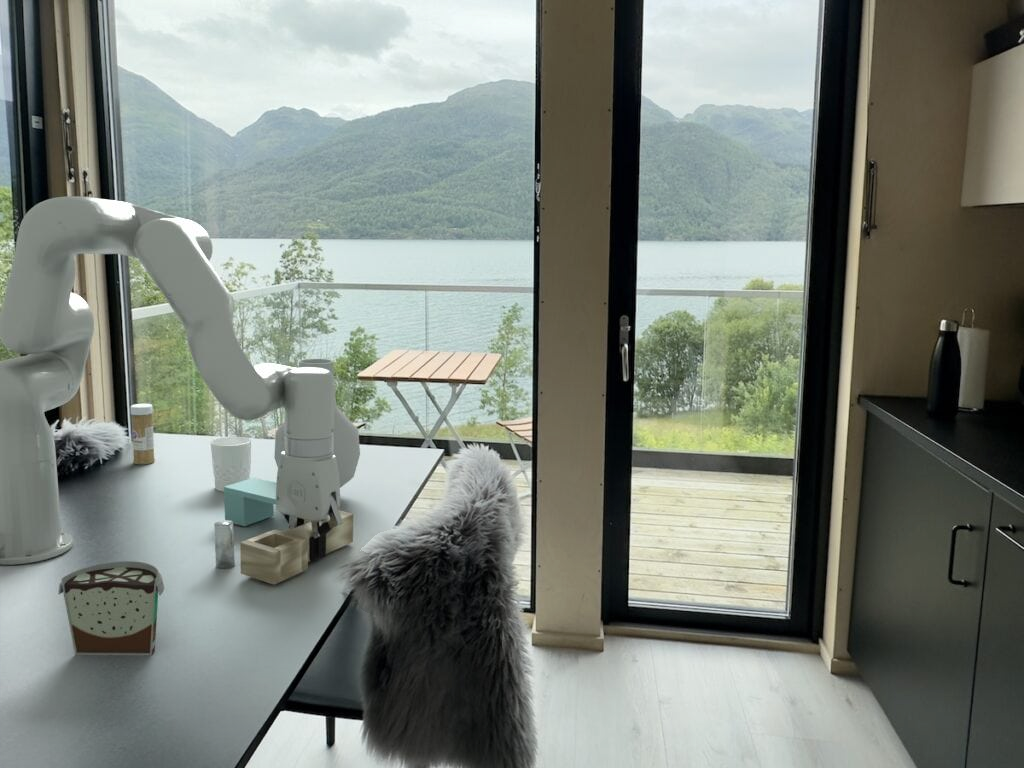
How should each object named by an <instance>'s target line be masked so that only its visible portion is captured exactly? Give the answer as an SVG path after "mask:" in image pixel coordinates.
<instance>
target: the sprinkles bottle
mask: <svg viewBox="0 0 1024 768" xmlns="http://www.w3.org/2000/svg"><path fill="white" fill-rule="evenodd" d="M153 413H154V411H153V404H151V403H137V404H136V403H134V404H132V405H131V406H130V414H131V426H132V429H131V430H132V431H131V432H132V433H131V434H132V449H133V464H135V465H141V466H142V465H149V464H152V463H155V462H156V460H155V459H156V458H155V451H154V450H155V443H154V426H153Z"/></svg>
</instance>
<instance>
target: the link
mask: <svg viewBox="0 0 1024 768" xmlns="http://www.w3.org/2000/svg"><path fill="white" fill-rule="evenodd" d="M339 512H340V515H341V517H342V520H343V523H342V524H340V525H338V526H335V527H333V528H332V529H331V530H330V532H329V533H328V534H326V555H327V554H330V553H332V552H333V551H336V550H338V549H339V548H342V547H344V546H347V545H349V544H352V543H353V542H354V513H350V512H348V511H344V510H339ZM329 520H330V517H329ZM319 525H320V526H321V521H320V522H319ZM312 536H313V535H312V524H311V521H308V522H306V524H303V525H301V526H298V527H296V528H293V529H290V530H289V529H288V530H286V531H282V530H279V529H272V530H270V531H267V532H264V533H261V534H259V535H257V536H254V537H253V536H252V537H251V538H248V539H245V540H243V541H240V542H239V546H240V547H239V548H240V574H241V575H244V576H247V577H250V578H252V579H256V580H258V581H263V582H265V583H268V584H271V585H276V584H277V585H278V583H281V582H283V581H286V580H288V579H289V578H292V577H294V576H296V575H299V574H301V573H302V572H305V571H307V570H308V569H309V567H308V566H309V565H308V564H309V563H308V562H311V561H310V537H312Z"/></svg>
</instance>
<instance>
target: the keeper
mask: <svg viewBox="0 0 1024 768" xmlns="http://www.w3.org/2000/svg"><path fill="white" fill-rule="evenodd" d="M223 497H224V498H223V499H224V500H223V503H224V520H230V521H233V525H234V524H235V525H238V526H243V527H246V526H249V525H252V524H255V523H258V522H260V521H264V520H266V519H268V518H270V517H274V515H275V514H274V513H275V512H274V505H275V506H276V482H275V481H270V480H266V479H262V478H258V477H250V479H247V480H244V481H241V482H238V483H235V484H231V485H228V486H225V487H224V492H223Z"/></svg>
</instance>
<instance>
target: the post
mask: <svg viewBox="0 0 1024 768" xmlns="http://www.w3.org/2000/svg"><path fill="white" fill-rule="evenodd" d="M213 526H214V528H213V529H214V547H215V548H214V549H215V568H217V569H218V570H219V569H220V570H225V569H231V568H234V566H235V565H236V564H235V563H236V562H235V559H236V558H235V536H234V523H233V521H230V520H225V519H224V520H223V519H222V520H219V521H216V522H214V525H213Z"/></svg>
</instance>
